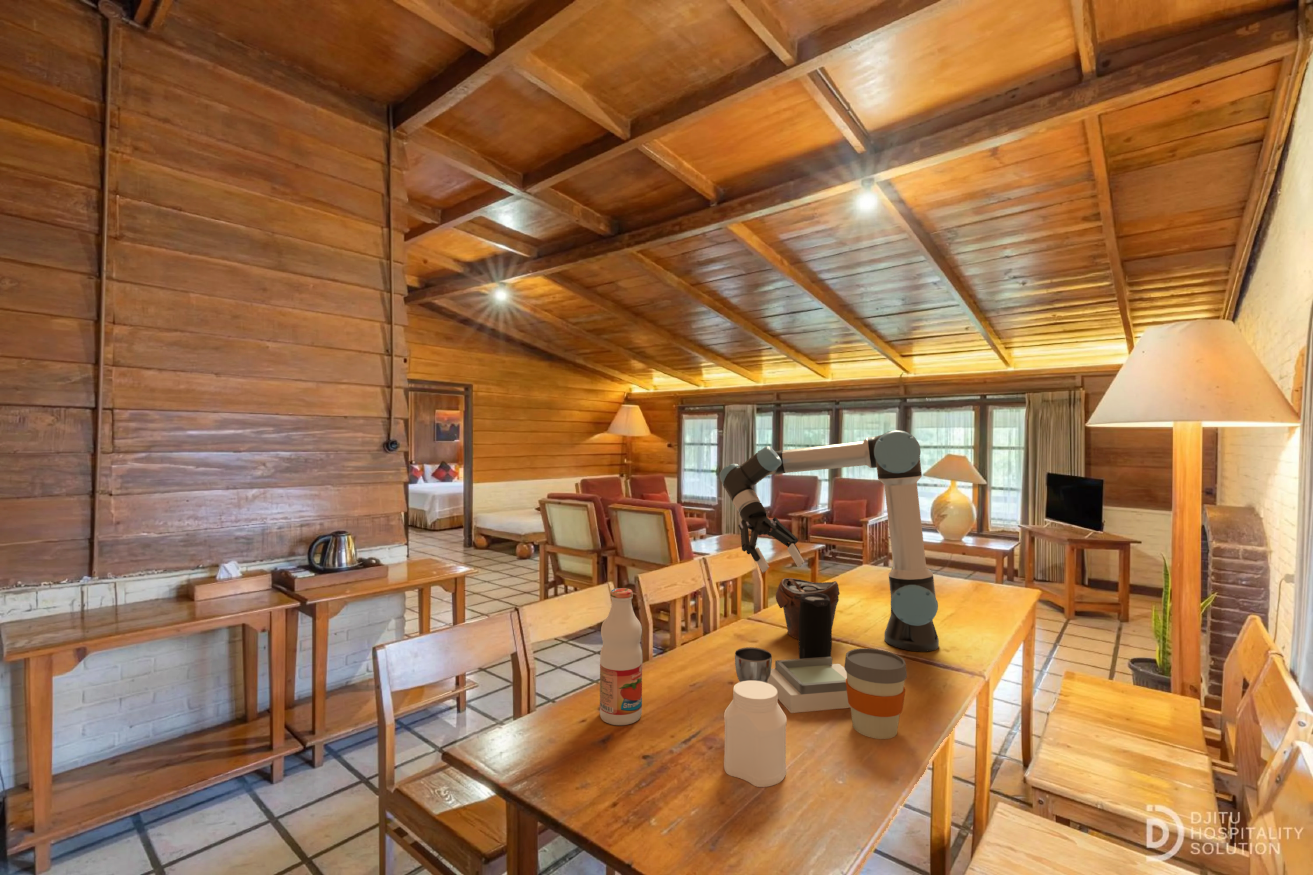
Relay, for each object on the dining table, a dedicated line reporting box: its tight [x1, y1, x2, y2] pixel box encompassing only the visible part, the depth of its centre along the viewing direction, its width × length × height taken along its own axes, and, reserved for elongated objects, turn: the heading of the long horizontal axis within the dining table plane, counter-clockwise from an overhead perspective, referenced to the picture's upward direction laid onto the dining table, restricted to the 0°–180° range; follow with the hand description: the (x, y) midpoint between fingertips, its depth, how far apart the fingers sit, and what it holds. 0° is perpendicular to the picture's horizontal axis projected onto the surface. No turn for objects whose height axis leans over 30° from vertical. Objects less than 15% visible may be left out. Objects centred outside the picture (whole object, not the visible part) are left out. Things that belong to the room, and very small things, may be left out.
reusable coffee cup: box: [843, 648, 908, 740], centre depth 125 cm, size 12×13×15 cm
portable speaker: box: [798, 593, 833, 659], centre depth 157 cm, size 9×9×20 cm
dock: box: [767, 656, 851, 714], centre depth 141 cm, size 25×15×6 cm, turn 101°
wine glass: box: [734, 646, 773, 683], centre depth 127 cm, size 8×8×15 cm
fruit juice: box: [599, 587, 643, 726], centre depth 130 cm, size 9×9×28 cm
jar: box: [723, 680, 788, 788], centre depth 109 cm, size 12×10×15 cm
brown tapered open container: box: [775, 577, 841, 640], centre depth 184 cm, size 18×20×18 cm
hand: (784, 567), depth 165 cm, fingers open, 13 cm apart
